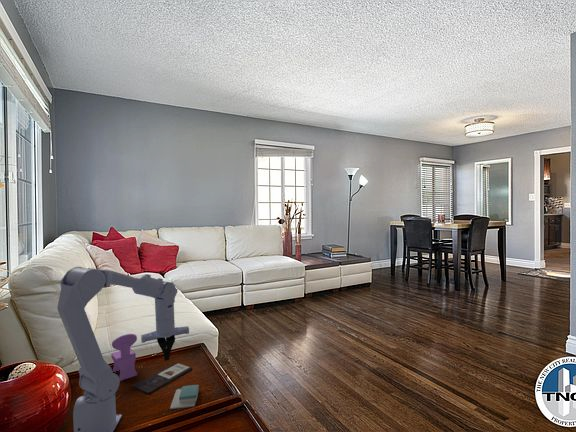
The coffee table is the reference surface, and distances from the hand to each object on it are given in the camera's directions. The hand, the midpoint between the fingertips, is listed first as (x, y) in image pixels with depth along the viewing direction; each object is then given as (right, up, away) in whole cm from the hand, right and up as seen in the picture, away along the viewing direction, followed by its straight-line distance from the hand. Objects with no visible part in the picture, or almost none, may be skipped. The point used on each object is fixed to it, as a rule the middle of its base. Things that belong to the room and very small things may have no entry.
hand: (166, 359), depth 105 cm
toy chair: (-20, -11, +11) cm, 25 cm away
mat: (+8, -10, -5) cm, 13 cm away
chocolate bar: (-4, -11, +8) cm, 14 cm away
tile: (+6, -9, -5) cm, 12 cm away
